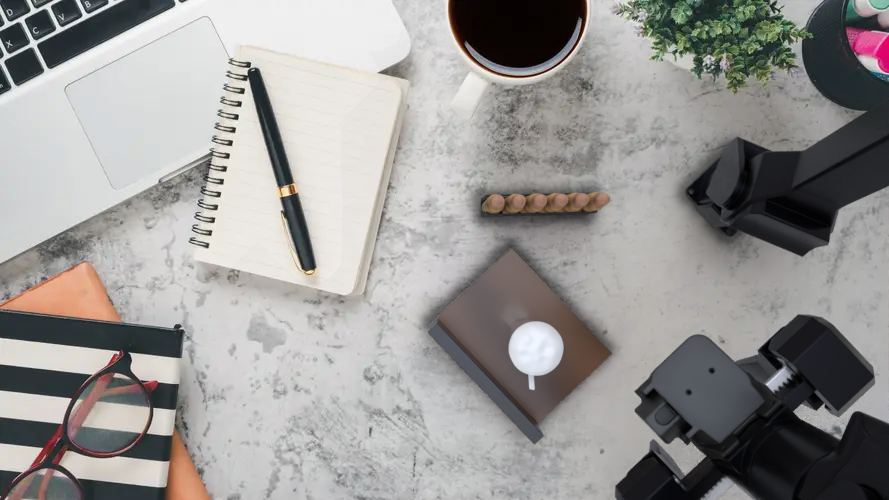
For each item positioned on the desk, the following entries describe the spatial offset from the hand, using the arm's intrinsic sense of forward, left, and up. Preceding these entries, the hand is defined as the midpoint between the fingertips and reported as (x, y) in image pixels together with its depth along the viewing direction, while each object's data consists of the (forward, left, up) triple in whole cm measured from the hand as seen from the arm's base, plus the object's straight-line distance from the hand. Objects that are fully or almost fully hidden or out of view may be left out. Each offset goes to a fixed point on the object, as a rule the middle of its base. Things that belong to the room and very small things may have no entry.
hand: (696, 405), depth 53 cm
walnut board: (+7, -12, -12) cm, 18 cm away
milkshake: (+7, -12, -10) cm, 17 cm away
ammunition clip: (-3, -20, -12) cm, 24 cm away
